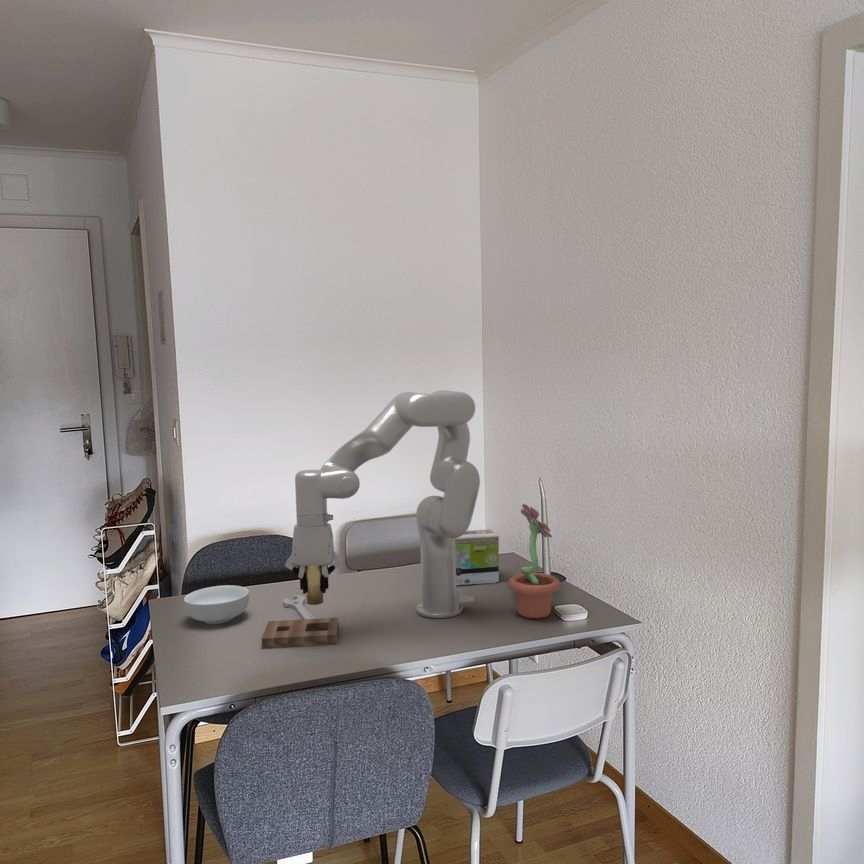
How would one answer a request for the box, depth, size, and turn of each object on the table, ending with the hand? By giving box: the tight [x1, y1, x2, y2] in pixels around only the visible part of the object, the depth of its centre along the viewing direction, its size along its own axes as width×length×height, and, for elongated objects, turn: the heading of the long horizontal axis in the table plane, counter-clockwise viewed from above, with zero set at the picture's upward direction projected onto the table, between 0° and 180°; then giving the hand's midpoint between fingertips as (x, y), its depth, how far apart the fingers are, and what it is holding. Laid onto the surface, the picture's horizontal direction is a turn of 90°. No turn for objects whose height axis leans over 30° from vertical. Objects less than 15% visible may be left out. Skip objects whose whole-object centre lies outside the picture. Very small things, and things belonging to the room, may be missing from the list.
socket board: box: [261, 617, 340, 649], centre depth 195 cm, size 18×12×2 cm, turn 94°
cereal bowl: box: [183, 584, 250, 625], centre depth 210 cm, size 17×17×7 cm
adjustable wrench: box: [282, 595, 316, 620], centre depth 212 cm, size 25×6×2 cm, turn 19°
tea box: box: [454, 529, 500, 586], centre depth 237 cm, size 15×10×15 cm
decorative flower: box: [507, 503, 562, 619], centre depth 205 cm, size 15×14×30 cm
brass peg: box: [304, 565, 324, 606], centre depth 194 cm, size 4×4×10 cm
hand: (314, 591), depth 194 cm, fingers closed on brass peg, 4 cm apart
